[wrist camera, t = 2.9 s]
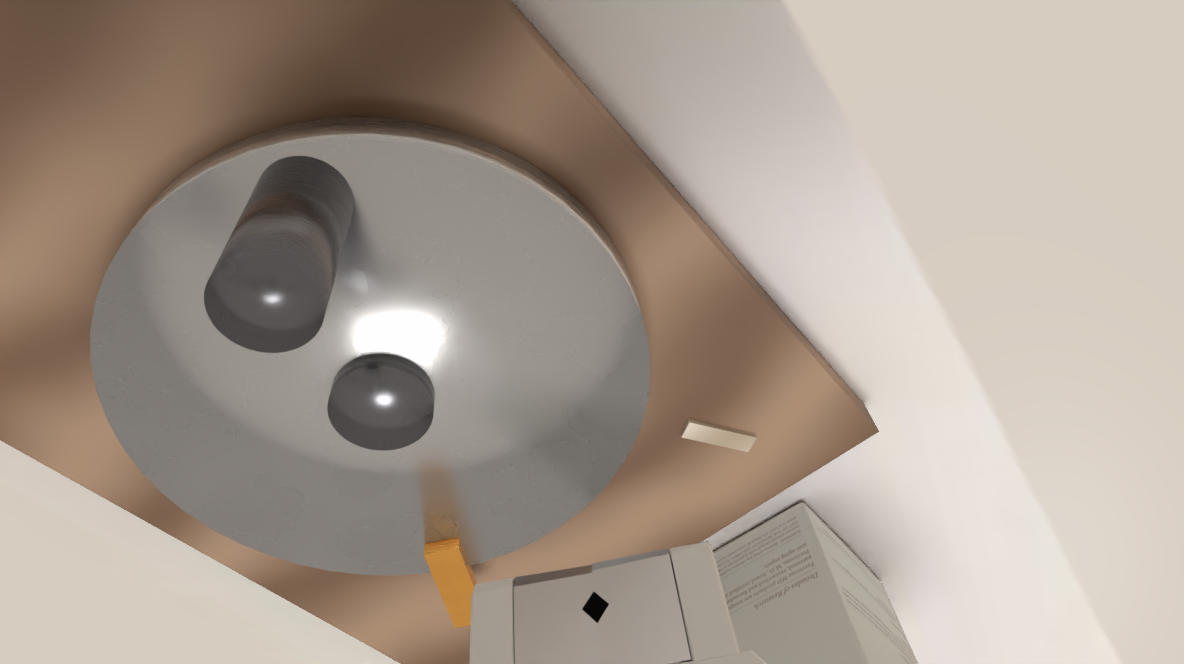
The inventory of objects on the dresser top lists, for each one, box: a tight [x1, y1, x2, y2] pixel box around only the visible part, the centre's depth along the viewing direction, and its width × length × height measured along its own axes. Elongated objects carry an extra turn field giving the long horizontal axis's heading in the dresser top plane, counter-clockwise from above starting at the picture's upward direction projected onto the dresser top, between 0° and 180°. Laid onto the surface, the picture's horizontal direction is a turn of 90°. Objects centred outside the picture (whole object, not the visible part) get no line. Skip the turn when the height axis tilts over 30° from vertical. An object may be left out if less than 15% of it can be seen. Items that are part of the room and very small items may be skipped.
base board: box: [0, 0, 879, 664], centre depth 28 cm, size 28×21×2 cm
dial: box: [90, 117, 651, 628], centre depth 25 cm, size 18×16×6 cm
